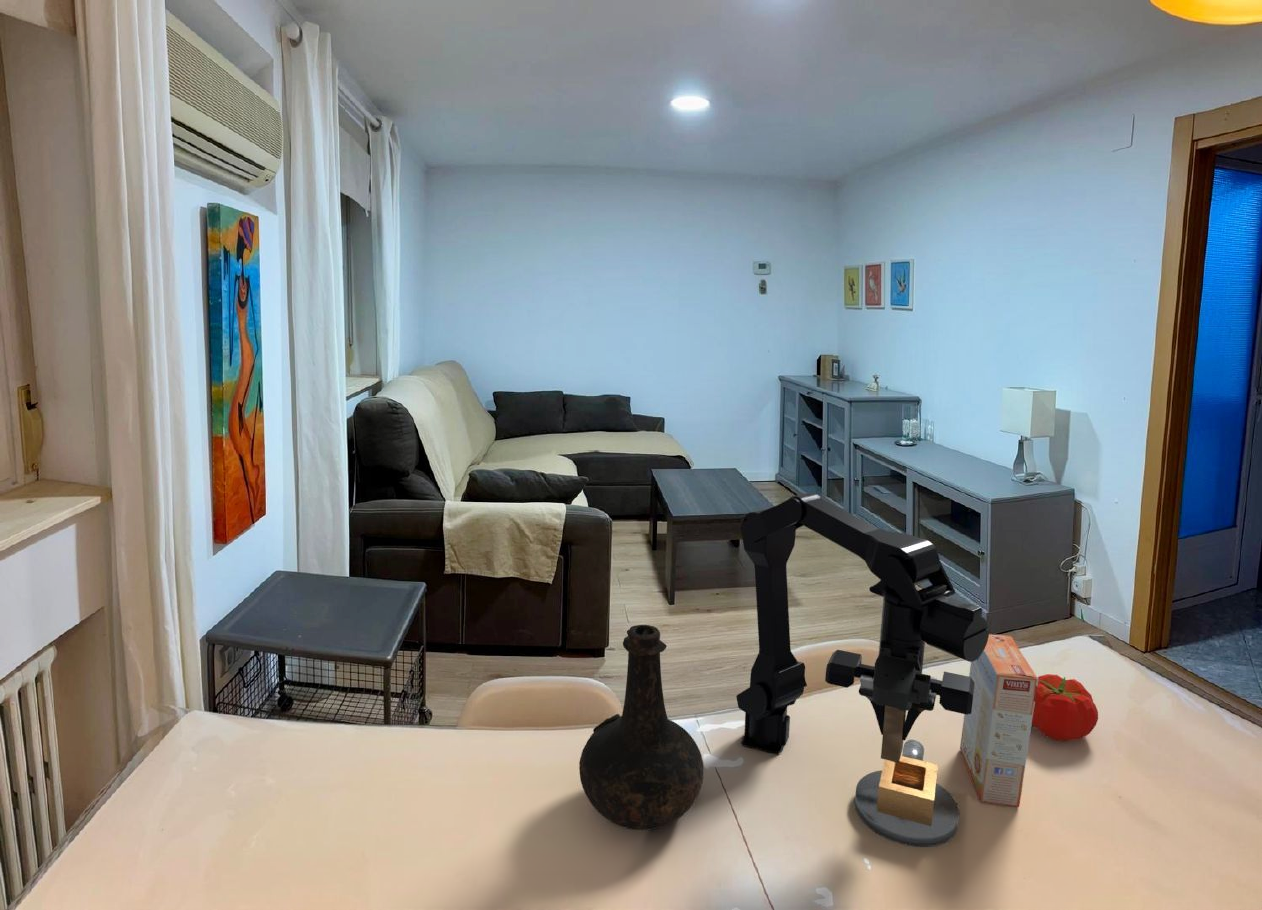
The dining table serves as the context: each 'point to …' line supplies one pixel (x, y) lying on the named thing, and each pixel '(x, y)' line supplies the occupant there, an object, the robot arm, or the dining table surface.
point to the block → (893, 734)
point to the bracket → (907, 801)
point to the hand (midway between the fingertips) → (893, 736)
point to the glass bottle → (641, 749)
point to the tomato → (1063, 709)
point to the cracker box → (999, 721)
